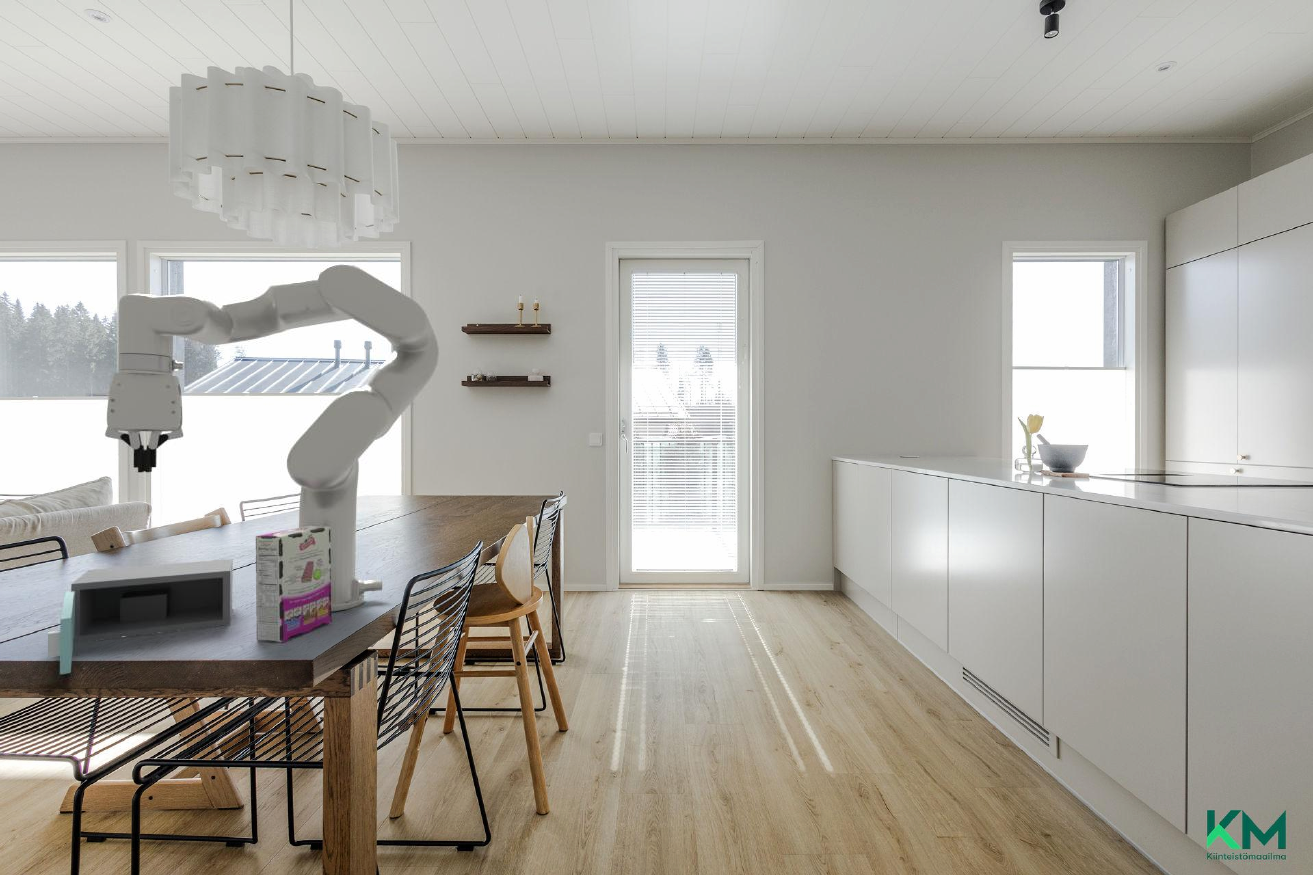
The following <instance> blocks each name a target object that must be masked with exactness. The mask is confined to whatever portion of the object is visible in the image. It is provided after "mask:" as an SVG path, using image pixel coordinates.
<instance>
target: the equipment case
mask: <svg viewBox="0 0 1313 875" xmlns="http://www.w3.org/2000/svg"><path fill="white" fill-rule="evenodd" d="M233 561H234V559H233V558H230V559H217V560H216V559H215V560H205V561H190V562H189V561H188V562H177V563H165V564H163V563H162V564H151V565H149V564H148V565H139V566H138V565H137V566H126V567H124V566H123V567H122V566H121V567H113V568H112V567H110V568H109V567H108V568H99V569H96V568H95V569H89V570H87V571H86V572H84V574H82V575H81V576H79V577H78V578H77V579H75V580H74V581H73V582H72V583H71V584H70V585H71V587H70V589H71V590H70V591H75V638H74V640H73V645H74V644H79V643H89V641H90V642H97V641H96V640H98V641H102V640H101V639H107V640H112V639H111V638H115V639H118V638H117V637H122V636H132V637H137V636H136V635H140V636H144V635H143V634H148V635H155V634H154V633H157V634H159V633H158V632H165V633H172V632H171V631H173V632H179V631H178V630H182V631H188V630H198V629H204V628H205V629H206V628H215V627H222V626H230V625H231V620H232V613H233V584H234V583H233V578H234V577H233V576H234V574H233V572H234V571H233V570H234V569H233V568H234V567H233V566H234V565H233V563H234V562H233ZM152 633H153V634H152Z"/></svg>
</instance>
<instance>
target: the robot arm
mask: <svg viewBox="0 0 1313 875" xmlns="http://www.w3.org/2000/svg"><path fill="white" fill-rule="evenodd" d="M352 319H353V320H354V321H356V322H358V323H359V324H361V325H363V326H365V327H366V328H368V329H370V330H372V331H374V332H375V333H377V334H378V335H380V336H381V337H383V338H385V339H386V340H387V341H388V342H389V343H390V344H391V346H392V351H391V352H392V353H391V355H390V356H389V357H388V358H387V360H386V361H384V362H383V363H382V364H381V365H380V366H379V367H378V369H377V370H376V371H375V372H374V373H373V375H372V376H371V377H370V378H369V379H368V380H367V381H366V382H365V383H364V384H363V385H362V386H361V387H360V388H352V389H350V390H347V391H345V392H343V393H341V394H340V395H339V396H338V397H336V398H335V399H334V400H333V401H332V402H330V404H329V405H328V406H327V407H326V409H324V411H323V412H322V413H321V414H320V415H319V416H318V417H317V418H316V420H315V421H314V422H313V423H312V424H311V425H310V426H309V427H308V428H307V429H306V430H305V432H304V433H303V434H302V435H301V436H300V437H299V438H298V439H297V441H296V442H295V443H294V444H293V445H292V447H291V448H290V450H289V452H288V455H287V460H286V468H287V472H288V475H289V477H290V478H291V480H292V481H293V482H294V483H295V484H297V485H298V486H300V495H299V496H300V497H299V509H298V510H299V512H298V515H299V516H298V528H301V527H306V526H326V527H331V528H330V536H331V613H332V612H338V611H345V610H348V609H349V610H350V609H351V608H356V607H357V606H361V605H362V604H363V603H364V602H365V595H364V594H365V593H367V592H378V591H379V592H380V591H382V590H383V580H373V579H372V580H360V579H359V578H358V577H357V575H356V557H357V556H356V547H357V546H356V545H357V542H356V541H357V536H356V535H357V534H356V532H357V527H356V526H357V525H356V524H357V498H358V497H357V496H358V483H359V481H358V480H359V472H360V471H359V470H360V468H359V467H360V466H359V464H360V463H359V459H360V458H361V456H362V455H363V454H364V453H365V452H367V450H368V449H369V447H371V445H372V444H373V443H374V442H375V441H376V440H379V439H380V438H383V437H384V436H385V435H386V434H387V433H388V432H389V431H390V430H391V429H392V427H393V426H394V424H395V422H397V420H398V419H399V418H400V417H401V415H403V414H404V412H405V411H406V409H407V408H408V407H410V405H411V404H412V402H413V401H414V400H415V398H417V396H418V395H419V394H420V393H421V392H422V390H423V389H424V387H425V386H426V385H427V384H428V382H429V381H430V380H431V378H432V376H433V375H434V373H435V372H436V371H435V370H436V368H437V365H438V362H439V356H440V354H439V353H440V352H439V350H440V349H439V345H438V341H437V340H438V339H437V336H436V334H435V331H434V329H433V327H432V324H431V322H430V320H429V318H428V316H427V314H426V311H425V310H424V308H423V307H422V306H421V305H420V304H419V303H418V302H417V301H415V300H414V299H412V298H411V297H409V296H407V295H406V294H404V293H403V292H401V291H399V290H398V289H396V288H393V287H392V286H390V285H388V284H387V283H385V282H383V281H381V279H378V278H377V277H375V276H374V275H371V274H370V273H368V272H367V271H365V270H364V269H362V268H360V267H358V266H356V265H354V264H351V263H347V262H336V263H332V264H329V265H327V266H326V267H325V268H323V269H322V270H321V271H320V272H319V274H318V276H314V277H306V278H298V279H292V280H291V279H290V280H284V281H277V282H274V283H273V284H272V285H270V286H269V287H268V289H267V290H266V291H265V292H264V293H262V294H261V295H259V296H257V297H255V298H252V299H247V300H242V301H237V302H231V303H223V304H215V303H213V302H211V301H209V300H206V299H205V298H203V297H200V296H197V295H193V294H174V295H162V296H159V295H158V296H156V295H152V294H142V293H129V294H124V295H122V297H120V299H119V301H118V348H117V349H118V350H117V352H118V353H117V354H118V355H117V358H118V359H117V360H118V361H117V362H118V365H117V372H113V373H112V376H111V380H110V386H109V390H108V398H107V406H106V408H107V409H106V423H107V424H106V425H107V427H106V431H105V434H104V435H105V437H106V438H110V439H114V440H121V441H123V442H125V443H126V445H128V447H131V449H132V450H133V468H134V469H135V468H136V469H137V473H152V472H153V468H157V453H158V452H157V449H159V447H161V446H162V445H163V444H164V443H166V442H167V441H170V440H176V439H181V438H183V437H184V431H183V428H182V425H183V401H182V390H181V383H180V379H179V376H177V375H174V372H176V371H178V370H179V371H183V369H184V363H183V362H181V361H179V362H178V361H177V360H174V336H176V337H181V338H184V339H188V340H191V341H194V342H197V343H199V344H200V343H201V344H203V345H207V346H208V345H210V346H219V345H228V344H233V343H240V342H247V341H251V340H252V341H253V340H257V339H261V338H266V337H269V336H272V335H276V334H280V333H284V332H285V331H289V330H292V329H299V328H305V327H311V326H316V325H322V324H329V323H334V322H341V321H347V320H352ZM125 432H127V433H125ZM141 432H150V436H149V441H148V444H147V445H146V449H145V446H144V444H143V441H142V436H141ZM163 432H167V433H163Z"/></svg>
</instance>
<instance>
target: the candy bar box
mask: <svg viewBox="0 0 1313 875" xmlns="http://www.w3.org/2000/svg"><path fill="white" fill-rule="evenodd" d="M330 528H331V527H326V526H306V527H301V528H299V527H297V528H291V529H286V530H280V531H276V532H270V533H265V534H260V535H256V536H255V564H256V565H255V575H256V576H255V579H256V580H255V582H256V585H255V588H256V592H255V594H256V596H255V598H256V640H257V641H258V642H263V643H282V644H283V643H286V642H288V641H291V640H292V639H295V638H297V637H300V636H302V635H305V634H307V633H310V632H312V631H314V630H315V631H316V629H317V630H318V629H320V628H322V627H325V626H327V625H329V624H331V623H332V612H331V536H330Z"/></svg>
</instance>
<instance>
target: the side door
mask: <svg viewBox="0 0 1313 875" xmlns="http://www.w3.org/2000/svg"><path fill="white" fill-rule="evenodd" d="M63 598H64V599H63V603H62V609H61V615H60V620H59V621H60V622H59V623H60V626H59V627H60V629H59V630H53V631H51V630H50V631H48V632H47V658H54V657H59V675H65V674H71V672H72V662H73V651H74V644H73V640H74V638H75V591H71V590H70V591H64V592H63Z"/></svg>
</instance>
